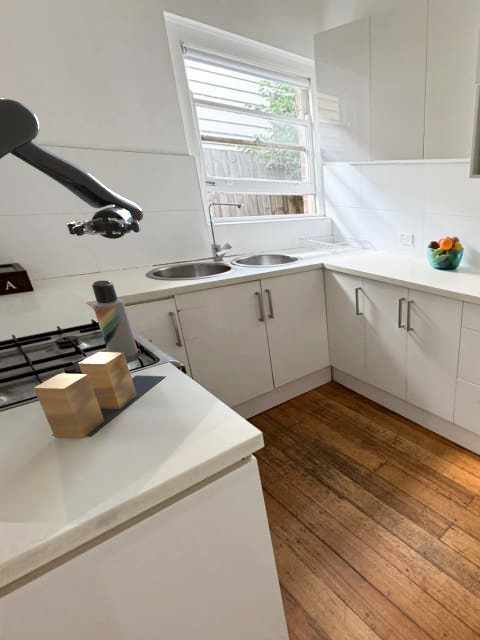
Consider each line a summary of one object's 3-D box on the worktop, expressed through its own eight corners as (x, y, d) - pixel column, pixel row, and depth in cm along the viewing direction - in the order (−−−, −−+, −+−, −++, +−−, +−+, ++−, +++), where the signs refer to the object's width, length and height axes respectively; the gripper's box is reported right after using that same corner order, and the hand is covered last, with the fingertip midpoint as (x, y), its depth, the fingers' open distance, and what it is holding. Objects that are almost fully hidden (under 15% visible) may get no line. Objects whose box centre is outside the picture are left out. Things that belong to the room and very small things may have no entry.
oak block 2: (120, 409, 75) (105, 363, 71) (94, 408, 75) (78, 363, 71) (137, 395, 79) (123, 352, 75) (113, 395, 79) (98, 351, 75)
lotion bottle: (131, 353, 98) (108, 277, 90) (144, 358, 96) (122, 280, 88) (106, 362, 93) (80, 282, 85) (120, 367, 91) (94, 286, 83)
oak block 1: (83, 438, 67) (63, 388, 62) (54, 437, 66) (33, 387, 62) (104, 421, 71) (87, 374, 67) (78, 420, 71) (59, 373, 67)
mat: (92, 438, 67) (91, 436, 67) (52, 437, 67) (51, 435, 67) (167, 377, 87) (166, 376, 87) (136, 376, 87) (136, 375, 87)
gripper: (75, 208, 100) (56, 215, 87) (140, 207, 106) (131, 213, 93) (85, 237, 103) (67, 248, 90) (147, 235, 109) (139, 244, 96)
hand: (99, 230), depth 92 cm, fingers open, 8 cm apart
